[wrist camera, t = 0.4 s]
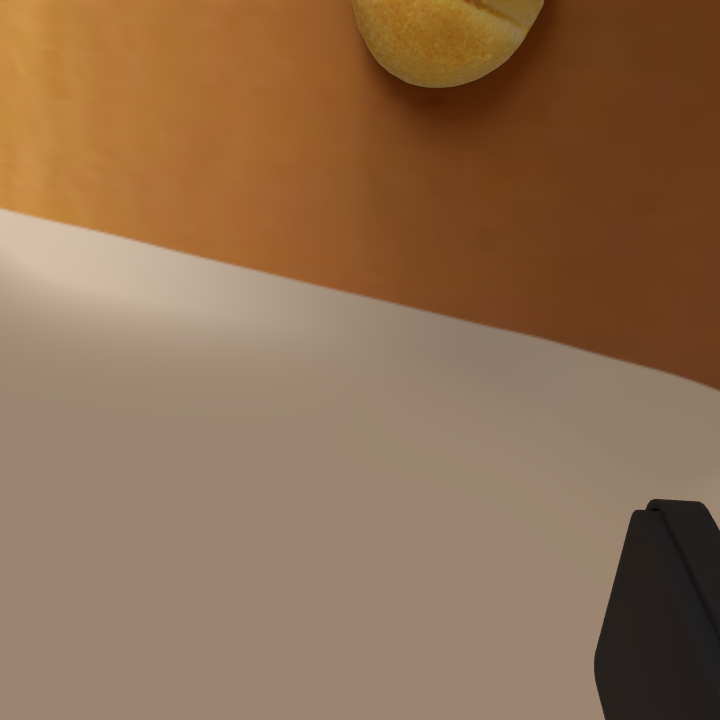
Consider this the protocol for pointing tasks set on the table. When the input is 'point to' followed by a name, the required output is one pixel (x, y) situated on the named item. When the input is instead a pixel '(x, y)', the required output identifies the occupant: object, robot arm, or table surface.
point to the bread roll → (443, 36)
